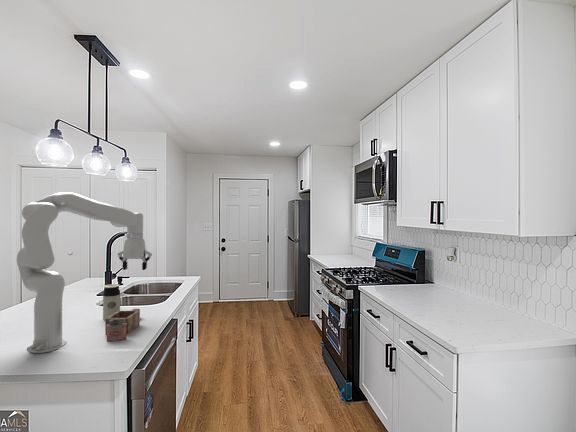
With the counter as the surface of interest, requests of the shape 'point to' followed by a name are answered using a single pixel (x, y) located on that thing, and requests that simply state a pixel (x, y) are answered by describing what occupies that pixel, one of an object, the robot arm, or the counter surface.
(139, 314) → the lid
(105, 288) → the travel mug
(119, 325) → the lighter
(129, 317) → the box
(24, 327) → the counter surface
